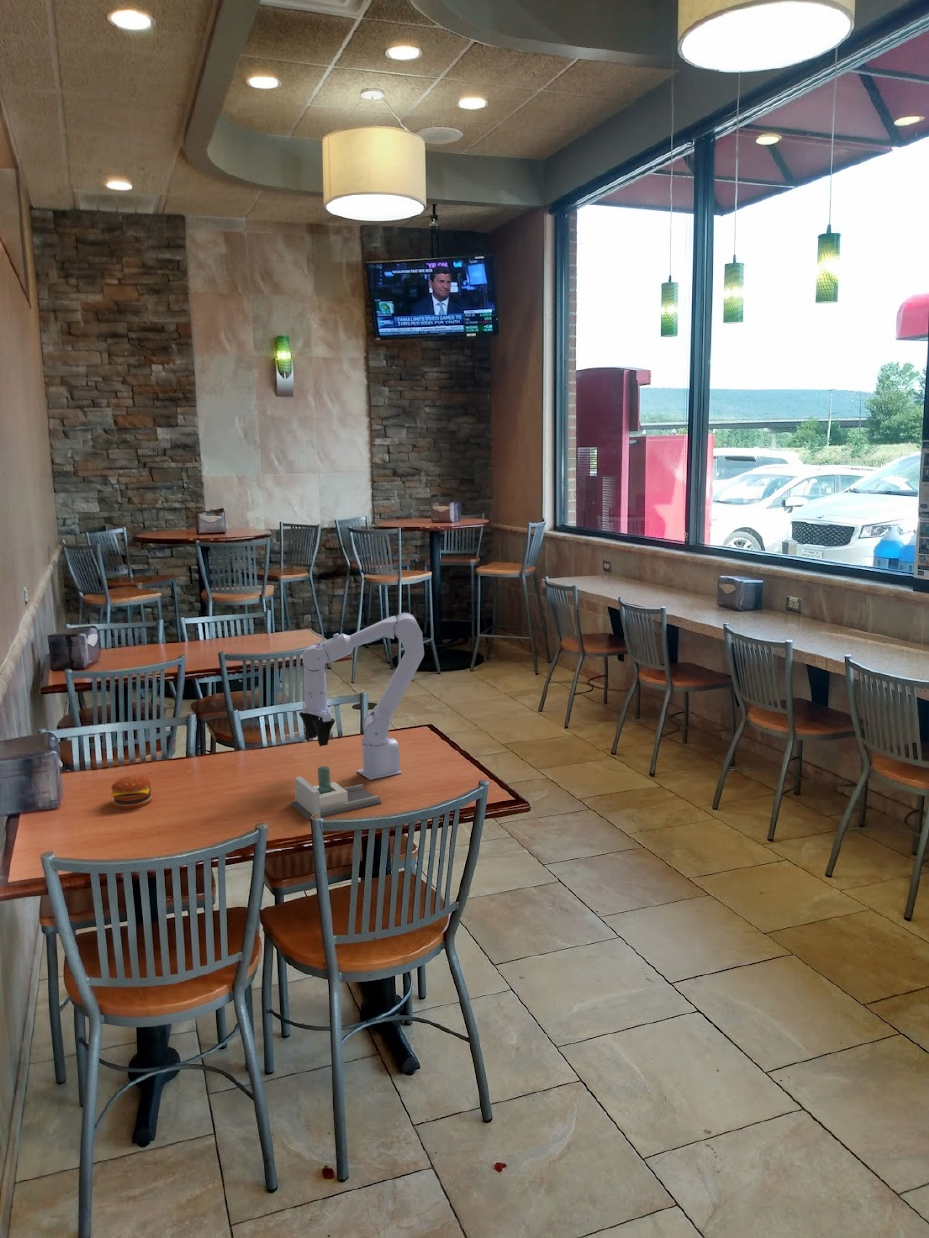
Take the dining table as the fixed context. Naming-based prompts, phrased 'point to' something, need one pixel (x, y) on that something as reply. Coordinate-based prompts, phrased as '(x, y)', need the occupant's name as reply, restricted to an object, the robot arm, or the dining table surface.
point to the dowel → (324, 780)
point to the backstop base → (310, 806)
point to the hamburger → (131, 792)
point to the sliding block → (333, 796)
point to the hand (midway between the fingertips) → (317, 741)
